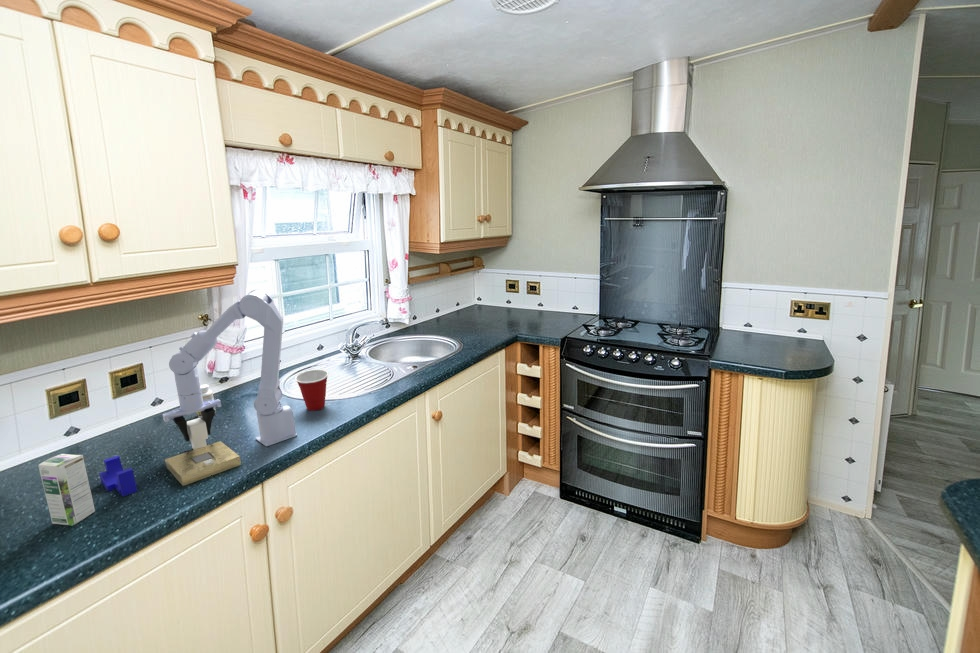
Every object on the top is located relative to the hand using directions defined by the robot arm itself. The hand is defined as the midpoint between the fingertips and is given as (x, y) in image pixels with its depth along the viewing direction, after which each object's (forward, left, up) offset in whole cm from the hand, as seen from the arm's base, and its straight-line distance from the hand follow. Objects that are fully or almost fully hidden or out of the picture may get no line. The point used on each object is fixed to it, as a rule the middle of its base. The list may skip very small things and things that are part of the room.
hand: (197, 436), depth 148 cm
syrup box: (+31, +16, -4) cm, 35 cm away
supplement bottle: (-10, -25, -4) cm, 27 cm away
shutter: (+3, +13, -1) cm, 13 cm away
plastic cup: (-37, -2, -4) cm, 37 cm away
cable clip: (+21, +8, -4) cm, 23 cm away
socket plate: (+3, +13, -3) cm, 14 cm away
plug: (0, 0, -3) cm, 3 cm away
